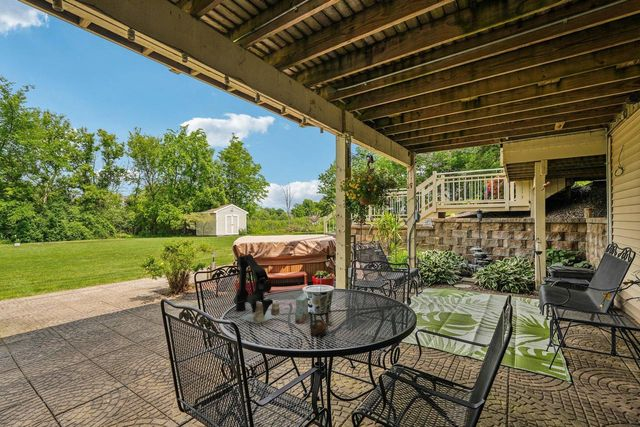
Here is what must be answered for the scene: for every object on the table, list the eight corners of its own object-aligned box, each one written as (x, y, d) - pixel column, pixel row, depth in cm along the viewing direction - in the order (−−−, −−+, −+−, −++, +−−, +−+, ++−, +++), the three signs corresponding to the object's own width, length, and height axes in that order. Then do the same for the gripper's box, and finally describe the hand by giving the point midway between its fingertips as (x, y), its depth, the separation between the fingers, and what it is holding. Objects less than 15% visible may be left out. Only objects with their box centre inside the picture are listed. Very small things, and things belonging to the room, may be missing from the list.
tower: (271, 314, 197) (271, 303, 198) (275, 313, 201) (275, 302, 201) (275, 315, 195) (275, 304, 195) (279, 314, 198) (279, 303, 199)
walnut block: (252, 313, 199) (252, 304, 199) (258, 311, 204) (258, 302, 204) (258, 315, 196) (258, 306, 196) (264, 313, 201) (264, 304, 201)
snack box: (303, 324, 183) (303, 300, 184) (294, 323, 184) (295, 299, 185) (311, 313, 204) (311, 292, 204) (303, 313, 205) (303, 291, 206)
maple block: (253, 321, 185) (253, 313, 185) (259, 318, 189) (259, 311, 189) (258, 322, 182) (259, 314, 182) (264, 320, 186) (264, 312, 186)
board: (238, 319, 191) (238, 317, 191) (262, 310, 209) (262, 309, 209) (257, 325, 180) (257, 323, 180) (281, 315, 199) (281, 314, 199)
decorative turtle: (313, 339, 159) (313, 324, 160) (307, 331, 174) (306, 317, 174) (330, 337, 162) (329, 322, 163) (322, 329, 176) (321, 315, 177)
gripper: (239, 289, 185) (239, 314, 184) (260, 293, 174) (260, 320, 174) (252, 286, 194) (252, 309, 193) (273, 290, 183) (273, 315, 183)
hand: (259, 313), depth 186 cm, fingers open, 9 cm apart
